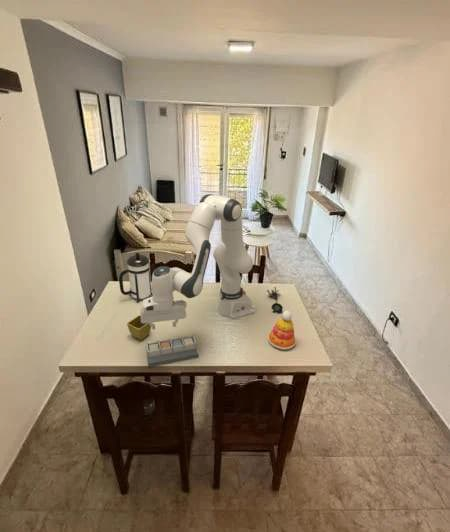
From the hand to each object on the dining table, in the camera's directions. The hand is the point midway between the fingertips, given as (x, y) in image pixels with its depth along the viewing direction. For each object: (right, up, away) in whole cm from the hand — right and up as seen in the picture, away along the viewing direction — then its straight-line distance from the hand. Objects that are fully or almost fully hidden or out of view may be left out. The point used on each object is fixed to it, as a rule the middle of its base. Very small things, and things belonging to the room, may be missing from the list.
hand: (164, 327), depth 140 cm
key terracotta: (0, -12, +6) cm, 14 cm away
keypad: (+2, -13, +7) cm, 15 cm away
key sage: (-5, -13, +4) cm, 15 cm away
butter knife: (-35, -4, +23) cm, 42 cm away
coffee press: (-25, +9, +49) cm, 55 cm away
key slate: (+5, -12, +7) cm, 15 cm away
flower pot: (-15, -8, +17) cm, 24 cm away
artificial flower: (+59, +5, +50) cm, 77 cm away
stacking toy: (+57, -11, +17) cm, 61 cm away
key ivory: (+10, -11, +9) cm, 18 cm away
